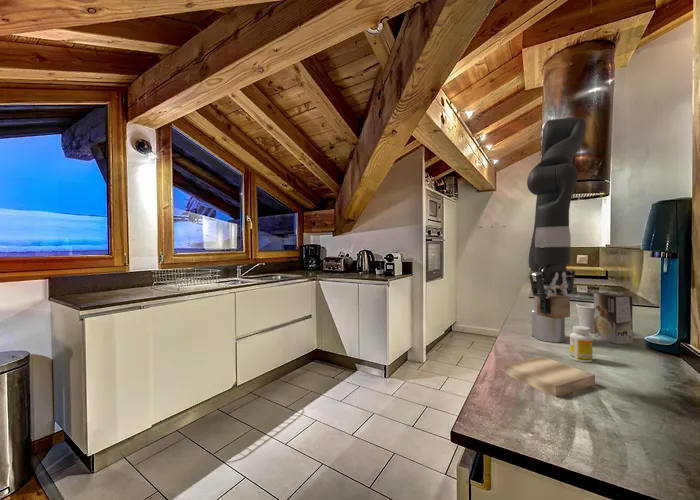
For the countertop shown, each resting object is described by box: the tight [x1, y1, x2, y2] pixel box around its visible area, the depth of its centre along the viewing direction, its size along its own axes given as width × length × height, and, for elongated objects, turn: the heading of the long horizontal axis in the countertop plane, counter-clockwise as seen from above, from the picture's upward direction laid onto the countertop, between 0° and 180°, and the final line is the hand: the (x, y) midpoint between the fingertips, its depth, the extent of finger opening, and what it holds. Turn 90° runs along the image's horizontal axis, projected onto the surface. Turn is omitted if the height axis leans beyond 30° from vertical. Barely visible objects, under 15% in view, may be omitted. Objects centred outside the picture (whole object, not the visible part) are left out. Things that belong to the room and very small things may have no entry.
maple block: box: [504, 355, 596, 398], centre depth 80 cm, size 14×14×3 cm
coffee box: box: [593, 291, 634, 345], centre depth 108 cm, size 9×6×16 cm
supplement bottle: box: [569, 325, 593, 363], centre depth 92 cm, size 5×5×10 cm
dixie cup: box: [575, 302, 595, 334], centre depth 119 cm, size 8×8×10 cm
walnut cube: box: [537, 294, 571, 319], centre depth 79 cm, size 5×5×5 cm
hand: (552, 311), depth 79 cm, fingers closed on walnut cube, 5 cm apart
